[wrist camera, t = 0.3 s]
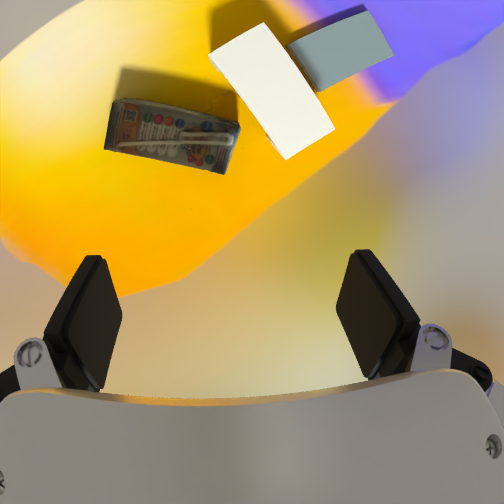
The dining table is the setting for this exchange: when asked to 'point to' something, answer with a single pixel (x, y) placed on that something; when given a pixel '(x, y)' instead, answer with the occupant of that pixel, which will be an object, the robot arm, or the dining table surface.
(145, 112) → the beverage carton
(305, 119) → the shelf
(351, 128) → the dining table surface
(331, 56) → the panel
